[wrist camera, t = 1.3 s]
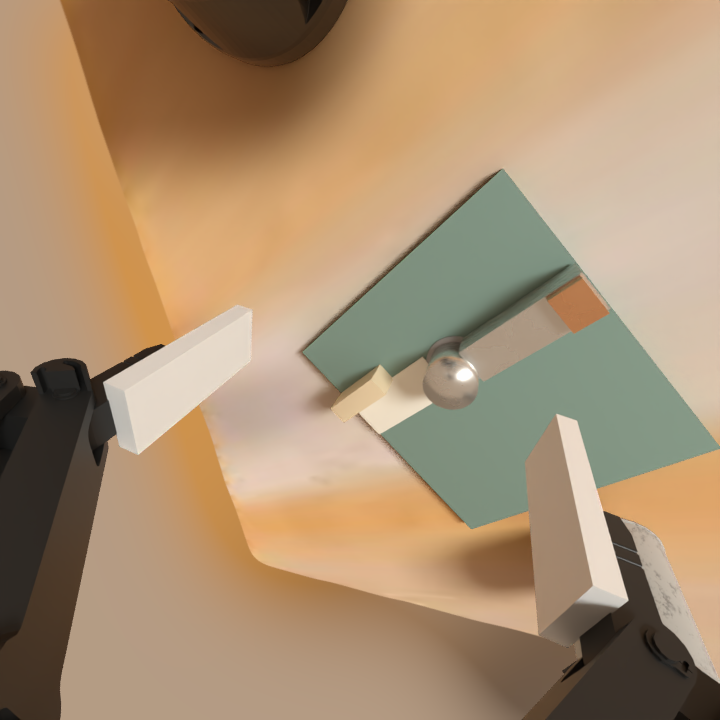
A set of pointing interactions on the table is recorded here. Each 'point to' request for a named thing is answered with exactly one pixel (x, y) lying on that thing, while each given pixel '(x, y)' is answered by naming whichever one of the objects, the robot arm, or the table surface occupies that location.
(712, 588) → the table surface
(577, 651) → the speckled grey cylinder
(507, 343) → the bar
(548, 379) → the board
